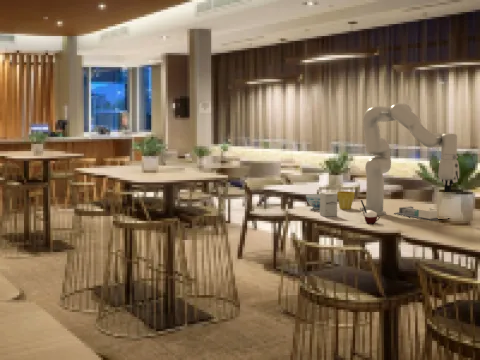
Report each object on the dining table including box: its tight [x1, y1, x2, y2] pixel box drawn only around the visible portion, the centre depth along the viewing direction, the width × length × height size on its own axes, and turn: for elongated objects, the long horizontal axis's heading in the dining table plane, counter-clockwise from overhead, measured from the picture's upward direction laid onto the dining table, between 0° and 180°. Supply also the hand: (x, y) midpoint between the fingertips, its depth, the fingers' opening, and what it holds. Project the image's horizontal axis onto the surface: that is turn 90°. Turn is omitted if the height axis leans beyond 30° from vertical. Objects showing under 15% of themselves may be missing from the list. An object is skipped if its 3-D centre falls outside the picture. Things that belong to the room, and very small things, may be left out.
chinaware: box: [305, 193, 320, 211], centre depth 358 cm, size 15×15×8 cm
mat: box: [393, 212, 439, 222], centre depth 331 cm, size 14×27×1 cm, turn 32°
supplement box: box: [319, 191, 338, 218], centre depth 332 cm, size 7×7×13 cm
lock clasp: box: [419, 207, 437, 219], centre depth 323 cm, size 10×8×4 cm
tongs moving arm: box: [405, 207, 419, 211], centre depth 333 cm, size 2×12×3 cm, turn 32°
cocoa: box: [360, 199, 381, 225], centre depth 308 cm, size 10×6×12 cm
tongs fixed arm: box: [398, 205, 419, 216], centre depth 335 cm, size 9×15×3 cm, turn 32°
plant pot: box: [336, 190, 355, 210], centre depth 359 cm, size 10×10×10 cm
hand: (447, 192), depth 313 cm, fingers closed
